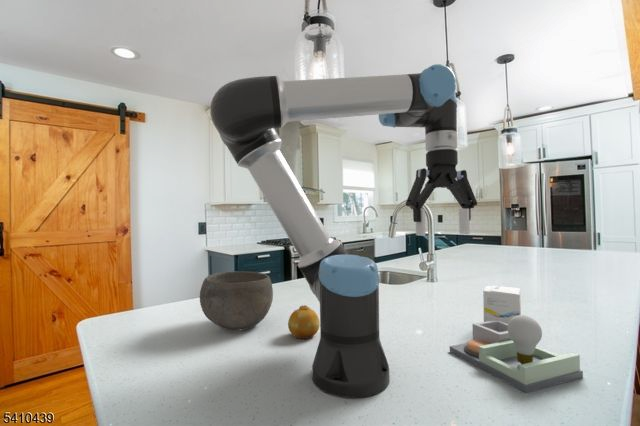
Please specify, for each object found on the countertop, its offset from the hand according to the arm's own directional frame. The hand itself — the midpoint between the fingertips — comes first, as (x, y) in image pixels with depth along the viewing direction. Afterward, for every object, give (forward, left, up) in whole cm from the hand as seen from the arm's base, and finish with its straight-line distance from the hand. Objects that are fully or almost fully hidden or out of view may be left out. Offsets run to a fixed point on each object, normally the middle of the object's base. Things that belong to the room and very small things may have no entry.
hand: (443, 234), depth 82 cm
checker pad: (+1, -11, -25) cm, 27 cm away
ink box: (+18, -1, -27) cm, 32 cm away
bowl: (-48, +32, -27) cm, 64 cm away
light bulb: (+3, -19, -26) cm, 32 cm away
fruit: (-32, +17, -27) cm, 45 cm away
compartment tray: (+4, -15, -27) cm, 31 cm away
